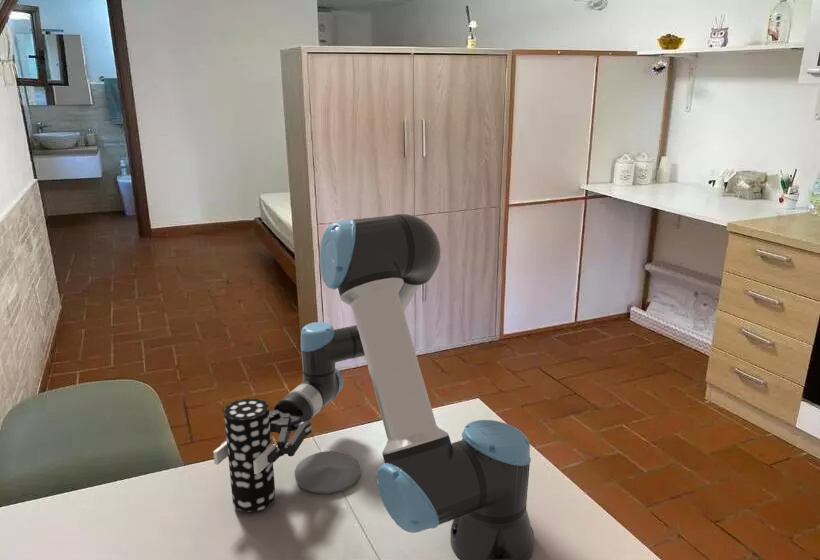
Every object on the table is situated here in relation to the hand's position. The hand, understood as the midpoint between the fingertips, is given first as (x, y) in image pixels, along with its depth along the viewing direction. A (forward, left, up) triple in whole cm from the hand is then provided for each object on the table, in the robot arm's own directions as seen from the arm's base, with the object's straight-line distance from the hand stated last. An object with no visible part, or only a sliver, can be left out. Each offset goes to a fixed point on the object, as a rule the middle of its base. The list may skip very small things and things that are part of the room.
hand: (235, 463), depth 119 cm
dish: (-2, -20, -12) cm, 24 cm away
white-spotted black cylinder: (+2, -4, -11) cm, 12 cm away
